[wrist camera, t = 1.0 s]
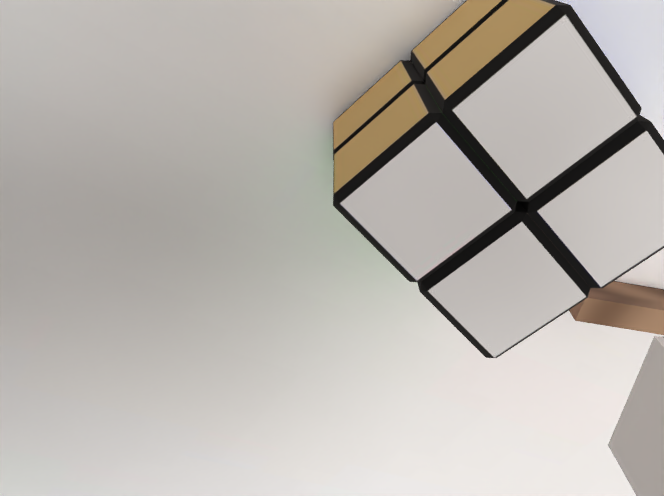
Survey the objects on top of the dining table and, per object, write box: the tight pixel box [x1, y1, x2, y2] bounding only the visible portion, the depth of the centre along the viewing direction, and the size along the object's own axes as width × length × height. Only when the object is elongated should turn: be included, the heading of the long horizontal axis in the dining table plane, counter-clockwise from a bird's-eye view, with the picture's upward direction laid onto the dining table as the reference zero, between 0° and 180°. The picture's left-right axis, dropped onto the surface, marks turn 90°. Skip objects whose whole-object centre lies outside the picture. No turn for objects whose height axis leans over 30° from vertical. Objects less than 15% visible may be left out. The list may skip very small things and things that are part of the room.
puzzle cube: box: [333, 0, 664, 358], centre depth 26 cm, size 10×10×10 cm
